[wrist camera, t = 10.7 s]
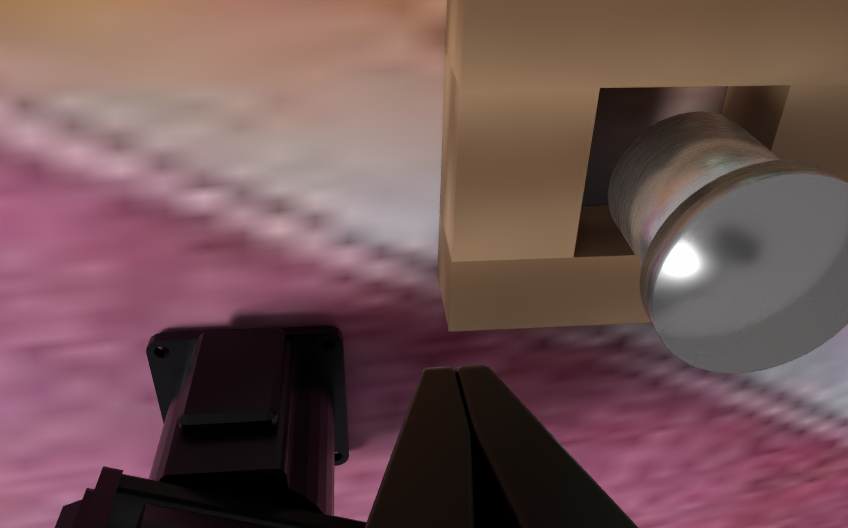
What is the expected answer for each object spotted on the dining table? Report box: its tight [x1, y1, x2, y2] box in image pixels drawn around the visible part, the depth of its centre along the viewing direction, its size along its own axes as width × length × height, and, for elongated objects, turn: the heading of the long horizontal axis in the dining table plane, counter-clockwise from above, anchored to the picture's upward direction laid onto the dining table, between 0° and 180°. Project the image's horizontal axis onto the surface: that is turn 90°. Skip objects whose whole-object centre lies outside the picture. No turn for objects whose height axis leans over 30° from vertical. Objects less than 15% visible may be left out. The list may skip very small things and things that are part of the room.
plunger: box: [608, 112, 848, 373], centre depth 17 cm, size 5×5×5 cm
